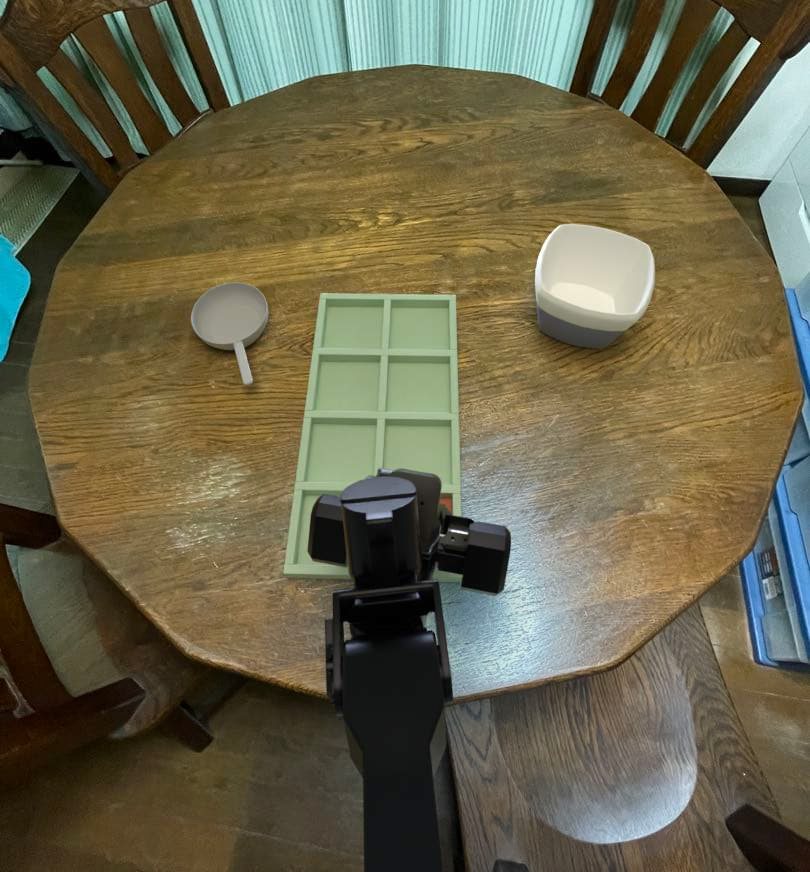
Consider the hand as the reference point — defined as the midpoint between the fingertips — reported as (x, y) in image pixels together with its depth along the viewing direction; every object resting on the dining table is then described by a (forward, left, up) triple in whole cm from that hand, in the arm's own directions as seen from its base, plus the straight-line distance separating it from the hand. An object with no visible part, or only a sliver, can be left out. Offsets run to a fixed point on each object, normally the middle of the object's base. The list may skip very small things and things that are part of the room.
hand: (418, 503), depth 64 cm
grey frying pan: (+25, +26, -8) cm, 37 cm away
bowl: (+31, -23, -8) cm, 39 cm away
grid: (+13, +5, -8) cm, 16 cm away
